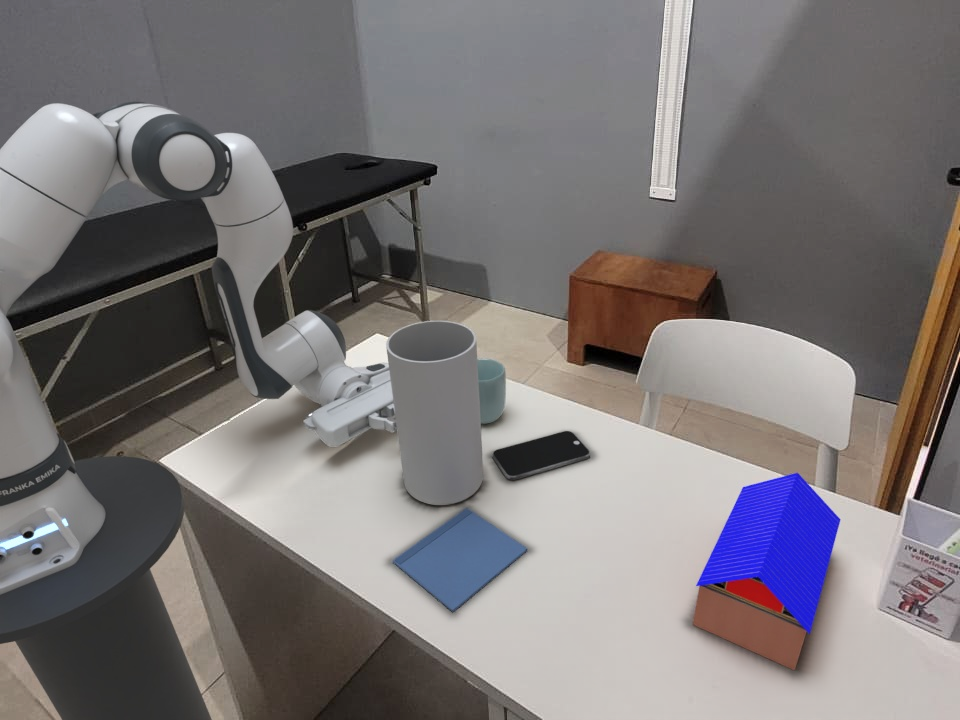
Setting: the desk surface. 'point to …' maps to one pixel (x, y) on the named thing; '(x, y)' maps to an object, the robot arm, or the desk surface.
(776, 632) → the house
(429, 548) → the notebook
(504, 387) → the cup
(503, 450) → the smartphone
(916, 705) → the desk surface
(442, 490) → the cylinder vase
